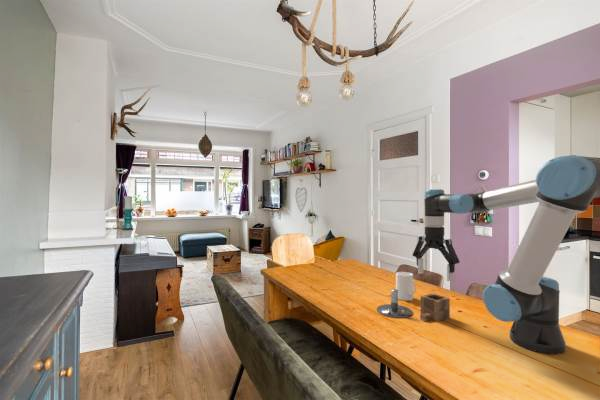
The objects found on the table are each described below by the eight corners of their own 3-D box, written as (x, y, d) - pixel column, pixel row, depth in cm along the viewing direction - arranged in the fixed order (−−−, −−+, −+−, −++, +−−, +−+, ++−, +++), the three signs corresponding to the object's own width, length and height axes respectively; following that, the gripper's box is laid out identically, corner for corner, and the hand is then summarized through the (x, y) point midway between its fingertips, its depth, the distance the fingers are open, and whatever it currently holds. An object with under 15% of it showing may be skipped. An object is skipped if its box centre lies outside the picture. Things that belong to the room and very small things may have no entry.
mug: (421, 301, 147) (421, 276, 147) (406, 303, 144) (406, 278, 144) (406, 294, 158) (406, 271, 158) (391, 295, 156) (391, 272, 155)
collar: (432, 311, 135) (432, 293, 135) (449, 317, 128) (449, 298, 128) (414, 317, 128) (414, 298, 128) (431, 323, 122) (431, 303, 122)
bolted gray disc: (375, 304, 144) (375, 284, 143) (408, 305, 141) (408, 285, 141) (378, 316, 129) (378, 294, 129) (416, 318, 127) (416, 296, 126)
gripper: (468, 228, 120) (469, 282, 121) (415, 223, 142) (415, 269, 142) (457, 229, 117) (458, 285, 117) (404, 224, 138) (404, 272, 138)
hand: (434, 276), depth 129 cm, fingers open, 13 cm apart
